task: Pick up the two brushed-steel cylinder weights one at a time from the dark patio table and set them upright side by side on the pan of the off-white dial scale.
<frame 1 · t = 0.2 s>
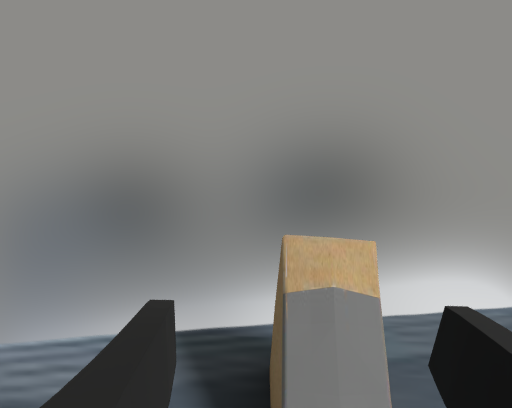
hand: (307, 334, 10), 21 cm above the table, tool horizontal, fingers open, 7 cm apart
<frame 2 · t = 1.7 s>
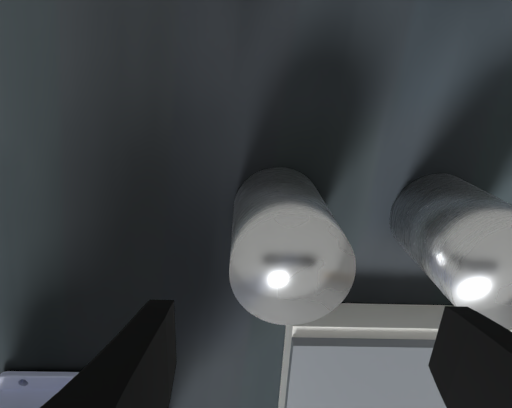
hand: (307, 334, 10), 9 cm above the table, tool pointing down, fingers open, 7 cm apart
steel weight 2: (432, 214, 18), on the table
steel weight 1: (277, 209, 18), on the table
dial scale: (396, 366, 22), on the table
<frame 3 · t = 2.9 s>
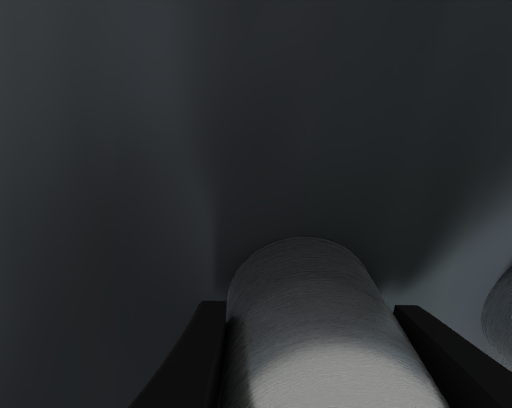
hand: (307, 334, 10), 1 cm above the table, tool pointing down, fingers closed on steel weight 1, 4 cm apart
steel weight 1: (299, 301, 11), on the table, touching gripper
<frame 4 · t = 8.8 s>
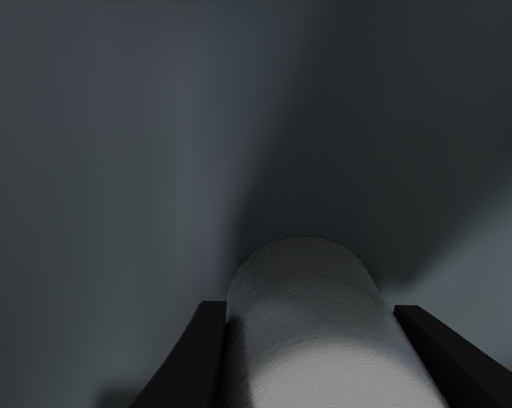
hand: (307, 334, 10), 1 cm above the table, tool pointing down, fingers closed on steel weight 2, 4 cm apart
steel weight 2: (299, 301, 11), on the table, touching gripper
when the fingers open (5 cm above the table, at t = 11.7 s): steel weight 2 stays where it is, resting on dial scale.
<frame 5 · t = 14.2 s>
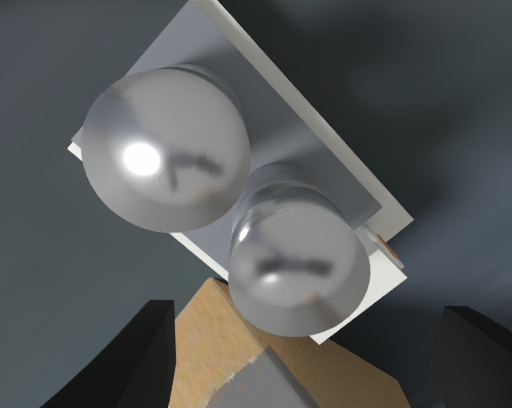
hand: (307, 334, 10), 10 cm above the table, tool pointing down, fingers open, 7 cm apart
steel weight 2: (280, 208, 17), point 3 cm above the table, touching dial scale
sandwich container: (273, 368, 24), on the table
steel weight 1: (190, 120, 15), point 3 cm above the table, touching dial scale
dial scale: (249, 174, 19), on the table
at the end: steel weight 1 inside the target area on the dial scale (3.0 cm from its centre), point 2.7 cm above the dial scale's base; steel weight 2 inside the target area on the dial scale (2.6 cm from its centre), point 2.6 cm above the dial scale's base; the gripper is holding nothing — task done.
